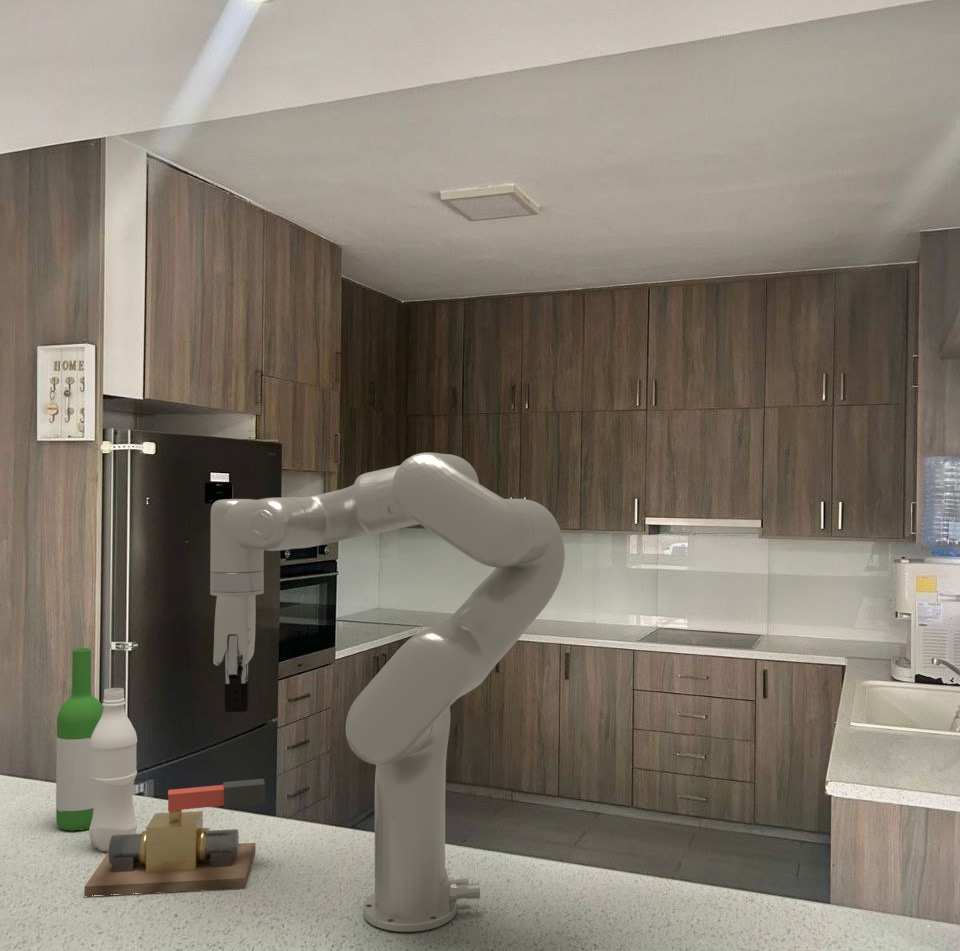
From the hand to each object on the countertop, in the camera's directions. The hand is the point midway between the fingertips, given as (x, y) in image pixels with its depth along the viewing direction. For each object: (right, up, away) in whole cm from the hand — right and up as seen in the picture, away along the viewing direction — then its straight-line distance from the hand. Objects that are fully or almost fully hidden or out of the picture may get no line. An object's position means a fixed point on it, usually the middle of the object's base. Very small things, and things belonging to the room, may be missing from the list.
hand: (236, 710), depth 138 cm
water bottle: (-24, -26, +15) cm, 38 cm away
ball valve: (-10, -24, +4) cm, 26 cm away
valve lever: (-5, -17, +6) cm, 18 cm away
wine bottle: (-33, -26, +25) cm, 49 cm away
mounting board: (-10, -25, +4) cm, 27 cm away
